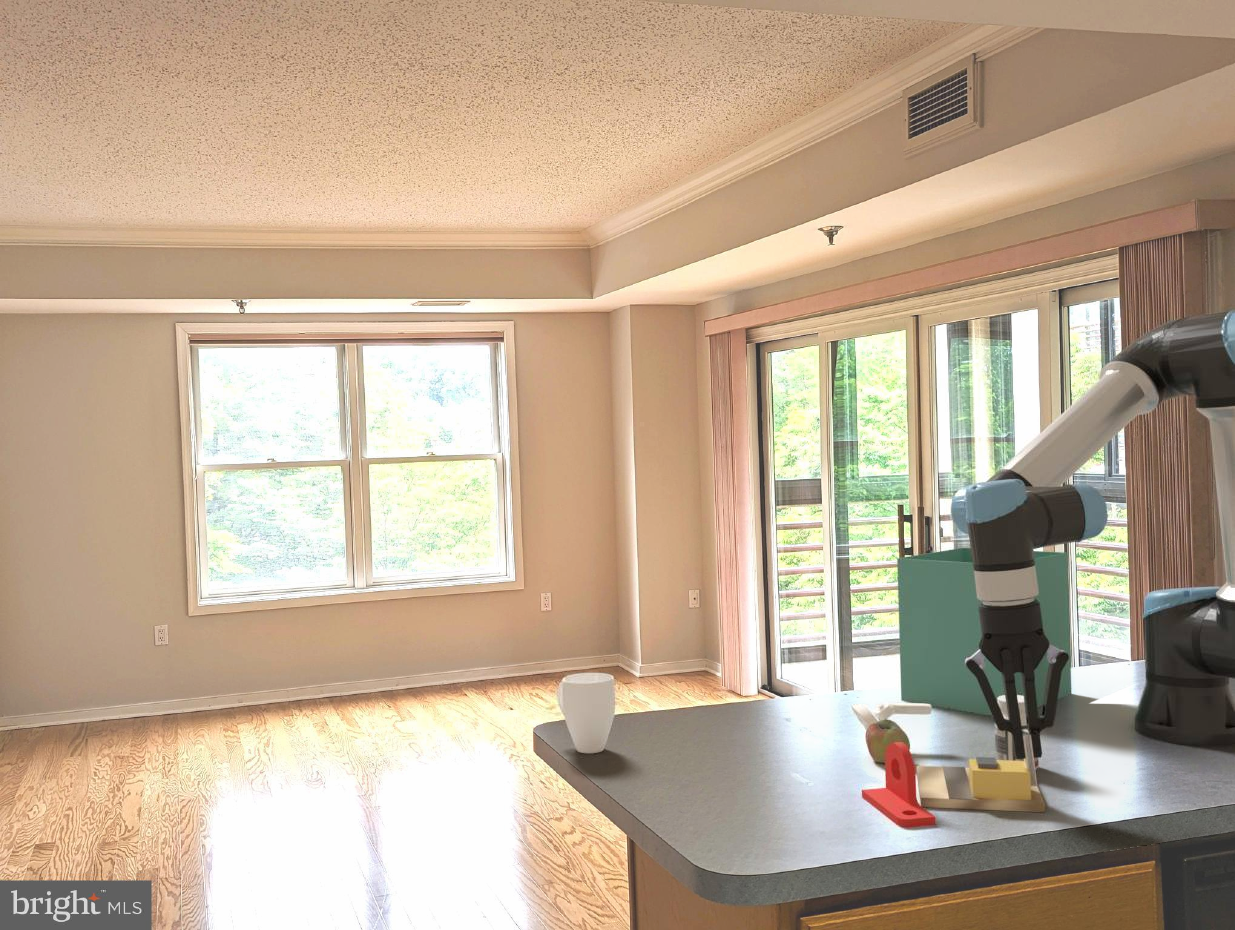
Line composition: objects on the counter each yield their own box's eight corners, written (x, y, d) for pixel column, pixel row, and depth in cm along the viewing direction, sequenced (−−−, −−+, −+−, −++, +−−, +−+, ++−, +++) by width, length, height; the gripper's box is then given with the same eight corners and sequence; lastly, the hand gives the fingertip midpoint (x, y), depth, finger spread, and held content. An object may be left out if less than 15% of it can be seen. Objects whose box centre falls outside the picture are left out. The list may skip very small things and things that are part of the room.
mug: (627, 749, 169) (625, 677, 169) (584, 760, 164) (582, 685, 164) (582, 735, 178) (580, 666, 178) (540, 745, 173) (538, 674, 173)
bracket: (862, 798, 143) (860, 739, 143) (894, 795, 144) (892, 736, 143) (901, 829, 131) (899, 764, 131) (935, 825, 132) (933, 761, 132)
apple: (877, 751, 164) (876, 712, 164) (920, 762, 158) (919, 722, 157) (850, 758, 161) (849, 719, 160) (893, 770, 154) (891, 729, 154)
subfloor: (1029, 778, 148) (1029, 769, 148) (1045, 812, 135) (1044, 802, 135) (916, 774, 152) (916, 765, 152) (921, 806, 138) (920, 797, 138)
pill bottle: (1042, 765, 154) (1040, 696, 154) (1034, 775, 149) (1032, 704, 149) (1001, 760, 157) (999, 692, 157) (991, 770, 153) (989, 700, 152)
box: (967, 680, 211) (963, 547, 210) (1071, 695, 195) (1067, 552, 195) (901, 701, 195) (897, 558, 195) (1009, 720, 180) (1004, 564, 179)
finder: (1025, 787, 141) (1025, 756, 141) (1031, 800, 136) (1030, 767, 136) (969, 785, 142) (968, 754, 142) (973, 797, 138) (972, 765, 137)
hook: (935, 756, 160) (934, 709, 160) (852, 753, 163) (851, 707, 163) (930, 743, 168) (929, 698, 167) (852, 740, 170) (851, 696, 170)
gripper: (1054, 591, 141) (1077, 771, 140) (954, 600, 143) (977, 776, 143) (1065, 599, 133) (1089, 789, 133) (960, 609, 136) (984, 794, 136)
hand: (1031, 782), depth 138 cm, fingers closed, pressing on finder
